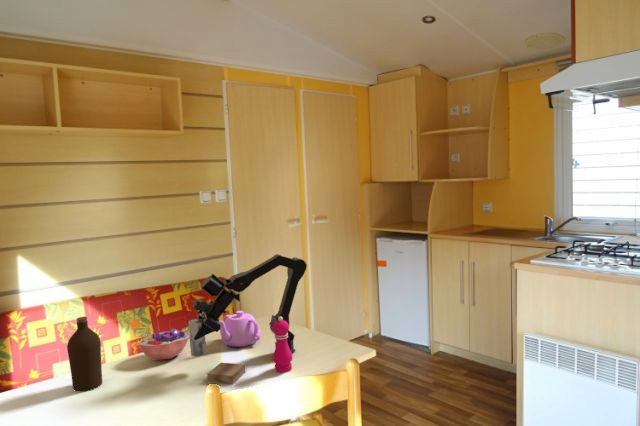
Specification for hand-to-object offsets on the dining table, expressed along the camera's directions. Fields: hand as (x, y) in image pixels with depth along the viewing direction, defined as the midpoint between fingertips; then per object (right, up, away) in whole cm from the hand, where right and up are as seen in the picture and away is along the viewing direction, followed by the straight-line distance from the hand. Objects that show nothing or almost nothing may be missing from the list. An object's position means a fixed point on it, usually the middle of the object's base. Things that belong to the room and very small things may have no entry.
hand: (193, 337), depth 171 cm
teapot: (+11, -11, +29) cm, 33 cm away
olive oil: (-36, -16, -7) cm, 40 cm away
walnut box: (+14, -13, -5) cm, 19 cm away
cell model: (-16, -13, +18) cm, 27 cm away
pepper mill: (+34, -12, -1) cm, 36 cm away
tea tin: (+2, -6, +1) cm, 7 cm away
